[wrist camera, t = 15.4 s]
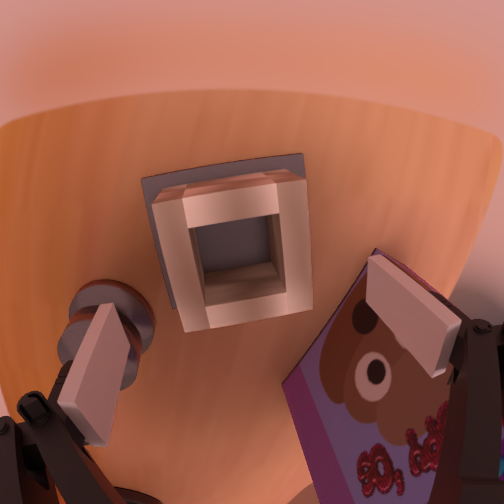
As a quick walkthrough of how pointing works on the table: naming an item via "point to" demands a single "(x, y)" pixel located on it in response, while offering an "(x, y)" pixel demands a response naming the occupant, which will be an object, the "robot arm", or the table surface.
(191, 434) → the table surface
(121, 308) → the steel stand
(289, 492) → the table surface
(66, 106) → the table surface
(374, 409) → the cereal box
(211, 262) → the rubber mat
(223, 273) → the square frame
